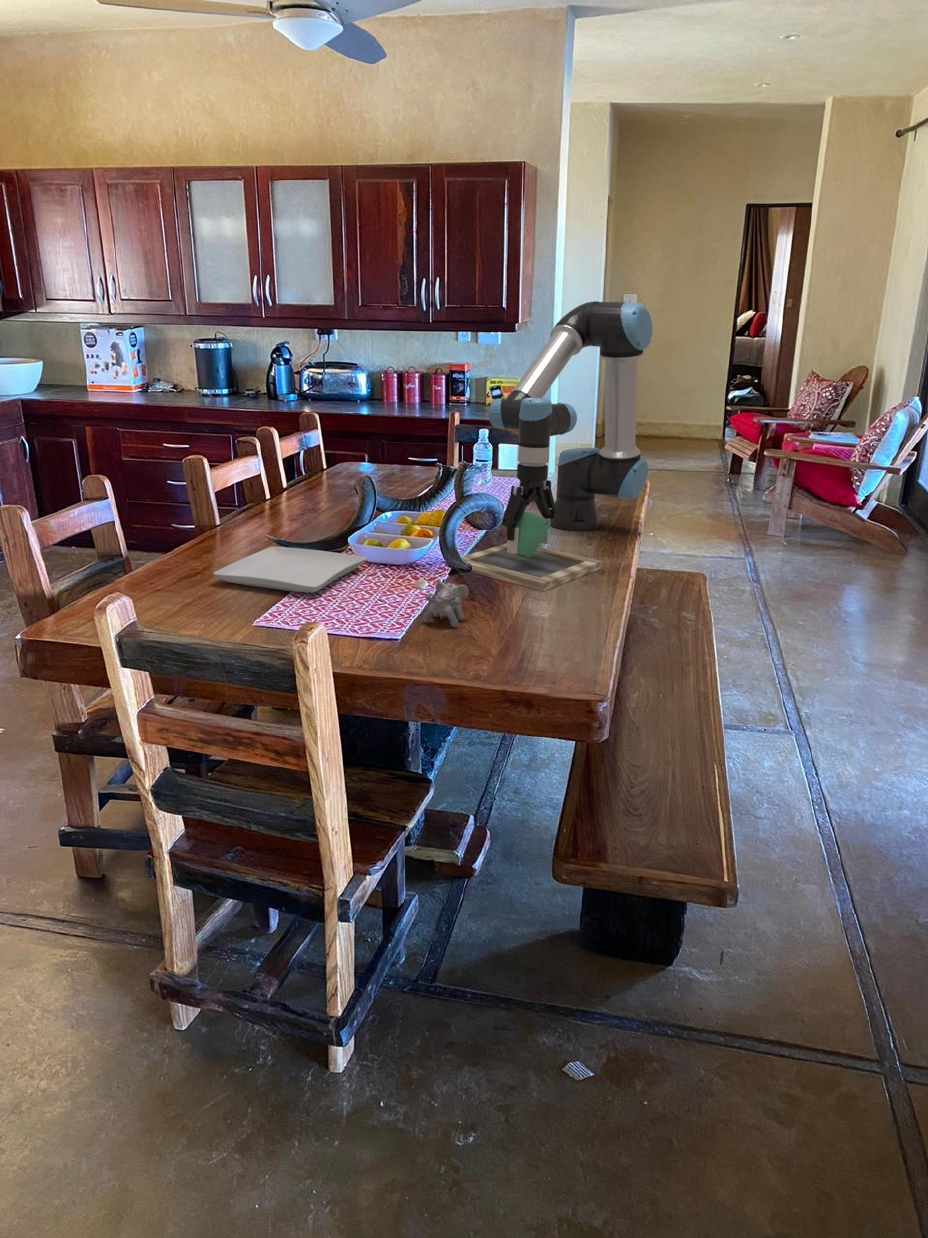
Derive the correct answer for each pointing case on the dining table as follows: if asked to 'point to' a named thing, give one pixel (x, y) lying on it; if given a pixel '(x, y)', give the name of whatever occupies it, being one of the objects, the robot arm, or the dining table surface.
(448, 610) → the elephant statuette
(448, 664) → the dining table surface
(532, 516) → the green tapered cup
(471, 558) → the framed board
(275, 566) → the square plate
